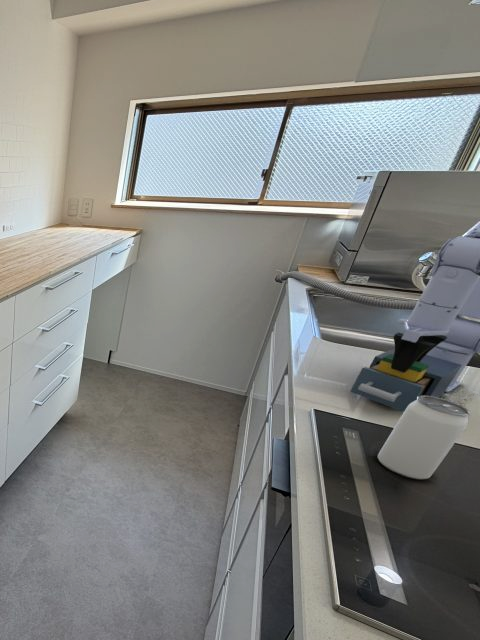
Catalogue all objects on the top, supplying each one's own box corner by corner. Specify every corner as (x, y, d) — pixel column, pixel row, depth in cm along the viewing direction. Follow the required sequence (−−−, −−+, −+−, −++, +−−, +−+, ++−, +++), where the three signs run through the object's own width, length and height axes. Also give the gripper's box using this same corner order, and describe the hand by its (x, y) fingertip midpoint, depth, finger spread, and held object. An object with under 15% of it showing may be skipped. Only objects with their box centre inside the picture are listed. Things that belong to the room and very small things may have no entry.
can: (441, 484, 64) (488, 419, 59) (393, 477, 65) (435, 413, 60) (410, 458, 70) (450, 397, 64) (366, 452, 71) (402, 391, 65)
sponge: (421, 378, 83) (429, 365, 82) (414, 382, 81) (422, 368, 80) (383, 366, 88) (390, 353, 86) (376, 369, 86) (383, 356, 84)
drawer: (398, 419, 79) (414, 393, 76) (339, 396, 86) (352, 372, 84) (427, 399, 87) (442, 375, 84) (371, 380, 94) (384, 357, 91)
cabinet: (421, 409, 84) (442, 377, 81) (358, 386, 93) (375, 356, 89) (442, 395, 90) (462, 365, 87) (381, 375, 98) (397, 346, 95)
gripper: (424, 293, 84) (391, 353, 90) (397, 302, 77) (363, 366, 83) (474, 303, 78) (435, 367, 85) (449, 313, 72) (408, 381, 78)
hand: (402, 367), depth 84 cm, fingers closed on sponge, 4 cm apart
